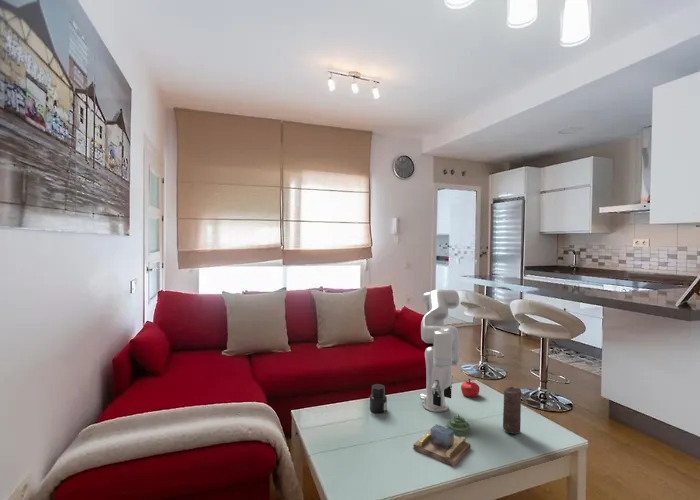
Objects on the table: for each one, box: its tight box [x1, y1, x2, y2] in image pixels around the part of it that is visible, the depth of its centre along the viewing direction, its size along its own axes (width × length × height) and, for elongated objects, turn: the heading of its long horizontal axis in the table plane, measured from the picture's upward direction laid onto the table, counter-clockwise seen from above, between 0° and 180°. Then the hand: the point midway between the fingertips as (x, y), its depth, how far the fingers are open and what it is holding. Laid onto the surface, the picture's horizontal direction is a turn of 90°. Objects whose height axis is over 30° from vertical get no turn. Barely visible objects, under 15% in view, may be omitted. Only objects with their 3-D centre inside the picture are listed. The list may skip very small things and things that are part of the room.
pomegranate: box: [460, 378, 481, 398], centre depth 205 cm, size 10×10×9 cm
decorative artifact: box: [446, 414, 471, 436], centre depth 167 cm, size 10×7×10 cm
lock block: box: [430, 424, 455, 450], centre depth 152 cm, size 8×5×6 cm, turn 50°
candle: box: [502, 386, 522, 435], centre depth 165 cm, size 8×7×20 cm
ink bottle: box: [369, 383, 388, 414], centre depth 187 cm, size 10×9×12 cm
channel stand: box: [412, 429, 472, 467], centre depth 152 cm, size 18×16×4 cm
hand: (442, 401), depth 152 cm, fingers open, 9 cm apart
